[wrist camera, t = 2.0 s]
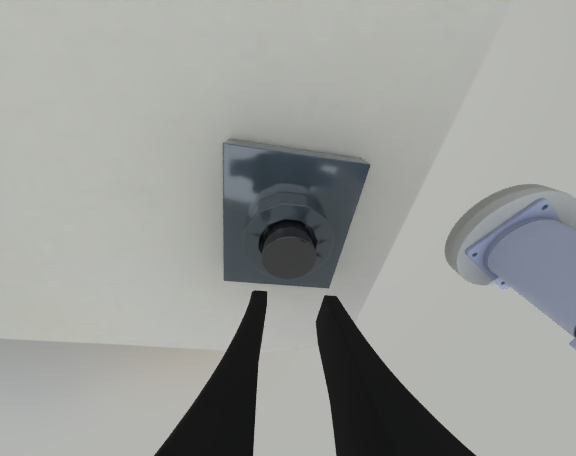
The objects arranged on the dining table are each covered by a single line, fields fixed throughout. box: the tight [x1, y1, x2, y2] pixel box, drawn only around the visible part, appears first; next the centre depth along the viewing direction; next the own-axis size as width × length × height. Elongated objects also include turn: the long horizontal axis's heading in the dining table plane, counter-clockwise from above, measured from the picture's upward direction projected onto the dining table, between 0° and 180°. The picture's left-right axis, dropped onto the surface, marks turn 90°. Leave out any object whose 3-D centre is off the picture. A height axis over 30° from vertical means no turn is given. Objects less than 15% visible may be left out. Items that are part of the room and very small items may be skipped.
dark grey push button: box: [262, 221, 316, 280], centre depth 15 cm, size 4×4×2 cm
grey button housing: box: [223, 139, 370, 288], centre depth 17 cm, size 12×10×4 cm
